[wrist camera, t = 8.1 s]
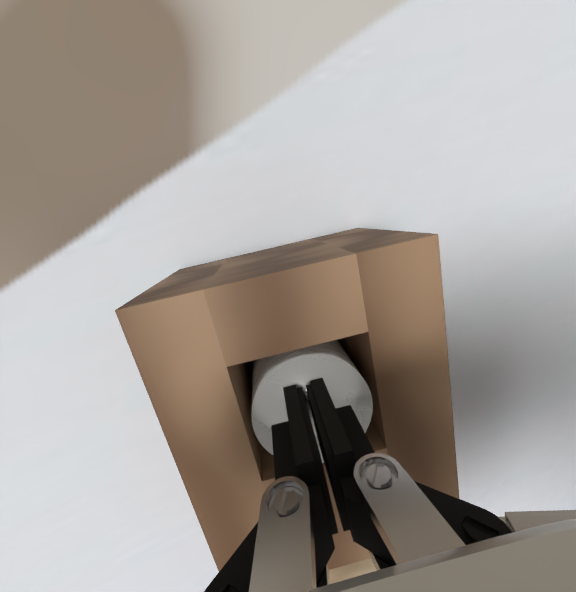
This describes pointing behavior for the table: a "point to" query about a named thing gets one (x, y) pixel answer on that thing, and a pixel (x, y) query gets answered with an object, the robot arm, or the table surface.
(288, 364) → the gray peg
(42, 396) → the table surface
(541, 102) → the table surface
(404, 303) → the walnut block
